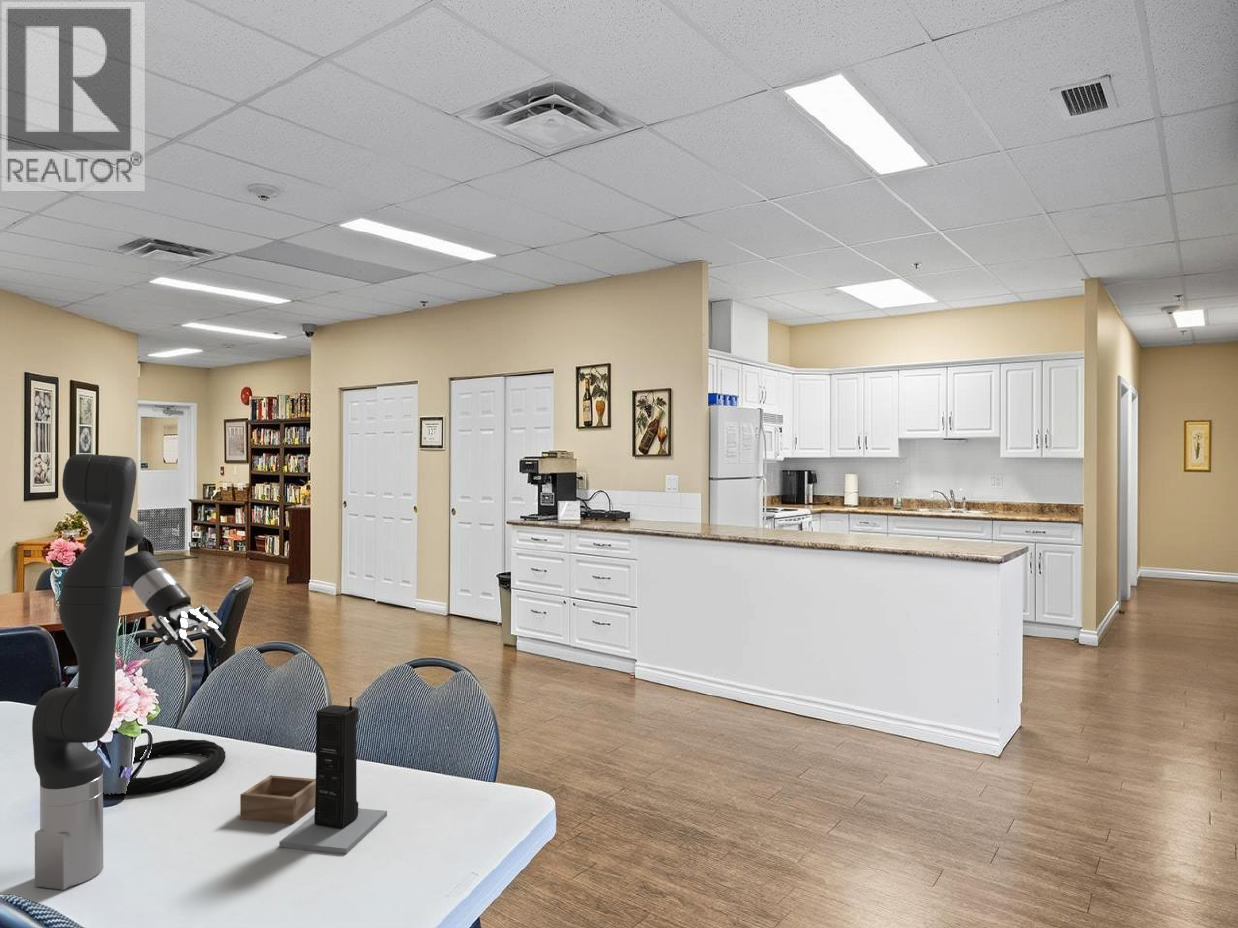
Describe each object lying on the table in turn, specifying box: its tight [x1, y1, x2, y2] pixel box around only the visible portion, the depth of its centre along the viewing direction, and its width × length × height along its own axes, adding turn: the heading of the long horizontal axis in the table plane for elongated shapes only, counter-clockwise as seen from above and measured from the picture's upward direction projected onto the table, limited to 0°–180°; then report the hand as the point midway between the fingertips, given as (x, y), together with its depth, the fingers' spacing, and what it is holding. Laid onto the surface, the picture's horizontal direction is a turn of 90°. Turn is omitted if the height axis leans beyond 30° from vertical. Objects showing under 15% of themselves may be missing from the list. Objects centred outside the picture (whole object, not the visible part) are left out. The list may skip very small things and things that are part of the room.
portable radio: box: [313, 696, 360, 829], centre depth 157 cm, size 8×6×25 cm
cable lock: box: [125, 739, 226, 796], centre depth 184 cm, size 28×4×30 cm
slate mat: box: [278, 807, 388, 855], centre depth 156 cm, size 16×14×1 cm
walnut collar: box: [239, 774, 316, 825], centre depth 164 cm, size 10×12×5 cm
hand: (209, 649), depth 165 cm, fingers open, 8 cm apart
